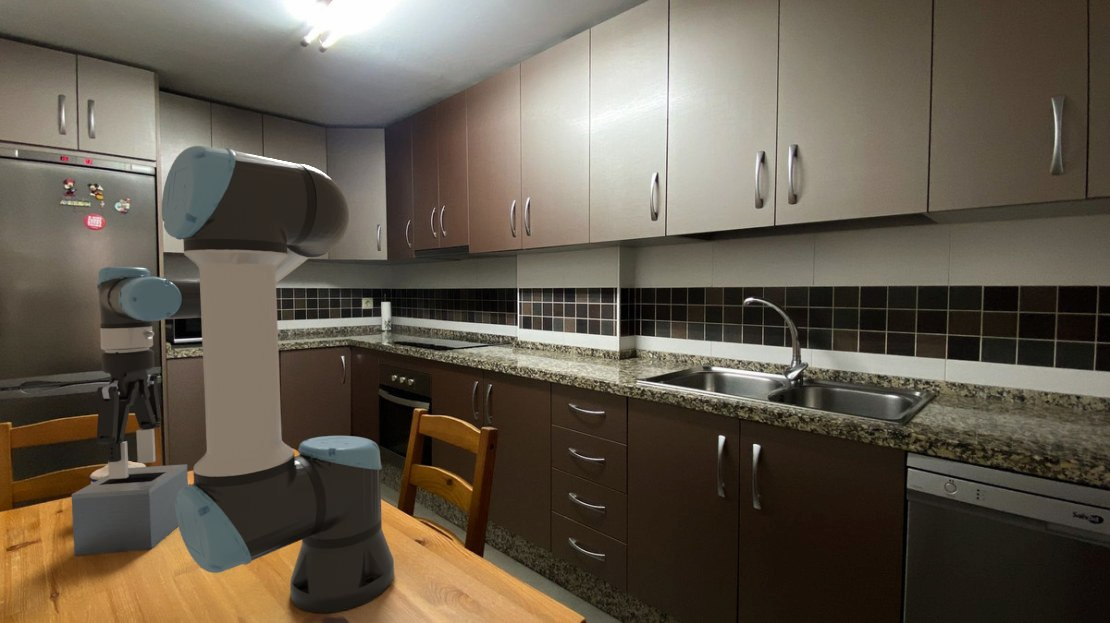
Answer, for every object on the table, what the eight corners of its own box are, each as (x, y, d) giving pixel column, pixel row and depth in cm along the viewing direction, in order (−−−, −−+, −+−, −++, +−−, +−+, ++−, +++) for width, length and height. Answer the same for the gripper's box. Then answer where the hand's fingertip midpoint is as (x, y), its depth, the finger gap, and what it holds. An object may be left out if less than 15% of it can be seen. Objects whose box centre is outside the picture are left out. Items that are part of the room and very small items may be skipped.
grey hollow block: (151, 549, 91) (149, 489, 91) (74, 555, 89) (71, 494, 89) (189, 517, 104) (187, 464, 104) (122, 522, 102) (120, 468, 101)
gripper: (114, 356, 86) (120, 489, 87) (180, 343, 106) (184, 451, 107) (62, 357, 84) (69, 492, 85) (139, 344, 104) (143, 453, 106)
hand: (133, 469), depth 96 cm, fingers open, 8 cm apart
